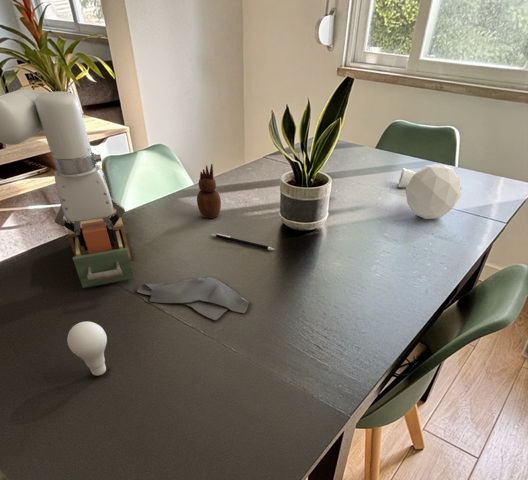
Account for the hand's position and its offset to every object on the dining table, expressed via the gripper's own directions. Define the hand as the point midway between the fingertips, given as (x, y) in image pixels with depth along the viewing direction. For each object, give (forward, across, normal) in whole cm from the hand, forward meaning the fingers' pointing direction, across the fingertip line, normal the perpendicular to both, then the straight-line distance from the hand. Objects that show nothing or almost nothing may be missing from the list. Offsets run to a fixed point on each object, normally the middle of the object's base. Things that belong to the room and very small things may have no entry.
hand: (99, 245), depth 98 cm
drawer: (+7, 0, +2) cm, 7 cm away
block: (0, 0, 0) cm, 0 cm away
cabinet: (+7, 0, -12) cm, 14 cm away
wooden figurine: (+8, -32, -22) cm, 39 cm away
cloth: (+8, -18, +17) cm, 26 cm away
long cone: (+8, -104, -16) cm, 106 cm away
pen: (+8, -35, -2) cm, 36 cm away
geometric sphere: (+8, -91, +1) cm, 91 cm away
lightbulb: (+8, +4, +35) cm, 36 cm away
